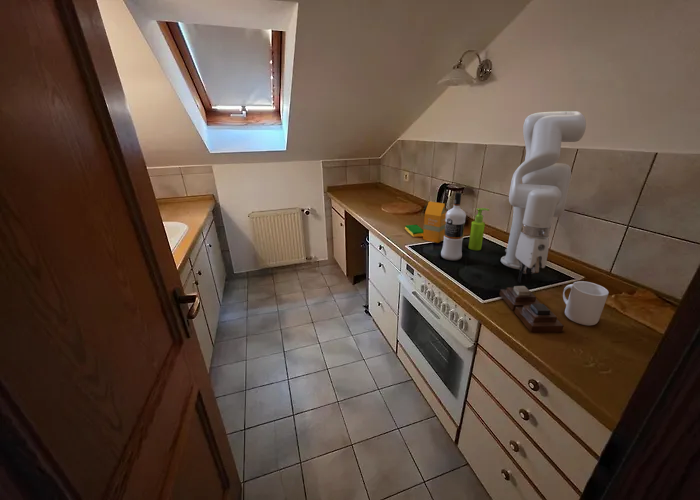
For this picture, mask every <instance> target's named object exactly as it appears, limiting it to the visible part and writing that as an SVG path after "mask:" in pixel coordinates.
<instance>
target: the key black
mask: <svg viewBox="0 0 700 500" xmlns="http://www.w3.org/2000/svg"><path fill="white" fill-rule="evenodd" d="M530 309H531V310H532V311H533V312H534V313H535V314H536V315H549V314H550V311H551V310H550V308H549V307H547V305H545V304H544V303H541V304H531V308H530Z"/></svg>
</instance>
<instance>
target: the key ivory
mask: <svg viewBox="0 0 700 500" xmlns="http://www.w3.org/2000/svg"><path fill="white" fill-rule="evenodd" d="M513 287H514V289H513V291H514V292H515V293H516V294H517V295H529V294H530V292H531V291H530V289H528V287H526V286H525V285H514V286H513Z"/></svg>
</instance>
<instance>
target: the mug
mask: <svg viewBox="0 0 700 500" xmlns="http://www.w3.org/2000/svg"><path fill="white" fill-rule="evenodd" d="M568 289H570V292H569V296H568V298H567V297H566V295H565V294H566V293H565V292H566V291H567V290H568ZM609 293H610V292H609V290H608V289H607V288H606V287H604V286H602V285H600V284H598V283H594V282H591V281H584V280H579V281H574V282H573V283H571V284H567V285H566V286H565V287H564V288H563V290H562V299H563V302H564V304H565V309H564V315H565V316H566V317H567V319H569V320H570V321H572V322H574V323H576V324H579V325H583V326H595V325H597V324H598V322H599V321H600V318H601V316H602V313H603V311H604V307H605V304H606V301H607V299H608V296H609Z"/></svg>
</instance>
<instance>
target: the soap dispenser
mask: <svg viewBox="0 0 700 500" xmlns="http://www.w3.org/2000/svg"><path fill="white" fill-rule="evenodd" d="M476 211H477V213H476V214H475V216H474V220H473V221H471V224H470V226H471V227H470V233H469V238H468V245H467V247H468V249H469V250H472V251H481V250H482V246H483V239H484V234H485V233H484V232H485V227H486V222H484V220H483V219H484V215H483V214H482V213H483V211H486V212H488V211H490V209H489V208H486V207H477V208H476Z"/></svg>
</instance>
